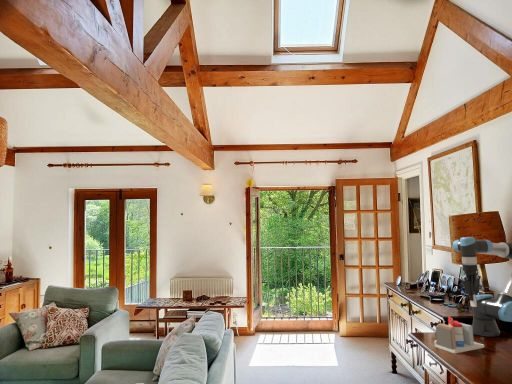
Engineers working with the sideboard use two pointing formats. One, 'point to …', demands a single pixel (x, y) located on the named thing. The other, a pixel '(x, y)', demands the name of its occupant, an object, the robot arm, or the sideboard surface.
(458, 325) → the ink box
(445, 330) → the rack
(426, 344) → the sideboard surface
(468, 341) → the bookend
